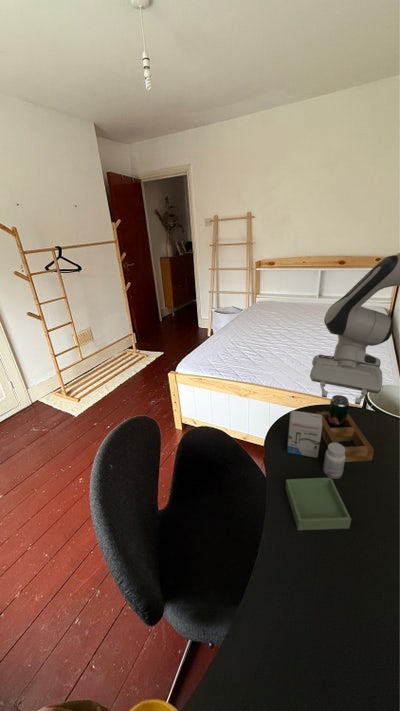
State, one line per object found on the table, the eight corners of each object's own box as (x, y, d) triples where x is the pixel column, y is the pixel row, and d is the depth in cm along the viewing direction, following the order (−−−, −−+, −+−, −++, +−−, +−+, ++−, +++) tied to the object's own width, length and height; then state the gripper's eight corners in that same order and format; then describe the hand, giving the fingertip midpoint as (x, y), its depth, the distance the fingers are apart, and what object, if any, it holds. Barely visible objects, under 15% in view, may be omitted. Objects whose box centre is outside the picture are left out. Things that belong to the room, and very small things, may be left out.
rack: (344, 420, 97) (345, 410, 96) (371, 460, 81) (374, 449, 80) (314, 421, 98) (315, 411, 96) (336, 462, 82) (338, 451, 80)
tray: (329, 486, 75) (331, 477, 74) (349, 528, 65) (351, 519, 64) (285, 487, 76) (285, 479, 74) (297, 530, 66) (298, 521, 64)
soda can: (322, 428, 95) (327, 396, 89) (335, 423, 96) (340, 392, 91) (334, 438, 90) (339, 405, 85) (347, 433, 92) (353, 401, 87)
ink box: (286, 452, 86) (289, 420, 81) (287, 441, 90) (290, 409, 85) (318, 458, 84) (322, 425, 78) (318, 446, 88) (322, 414, 83)
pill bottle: (346, 475, 78) (351, 451, 74) (332, 481, 76) (336, 457, 73) (332, 462, 82) (336, 439, 78) (319, 468, 80) (322, 444, 77)
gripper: (313, 350, 96) (304, 390, 93) (386, 360, 87) (379, 406, 84) (314, 356, 102) (306, 395, 99) (383, 367, 92) (376, 410, 89)
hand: (340, 400), depth 91 cm, fingers open, 8 cm apart
